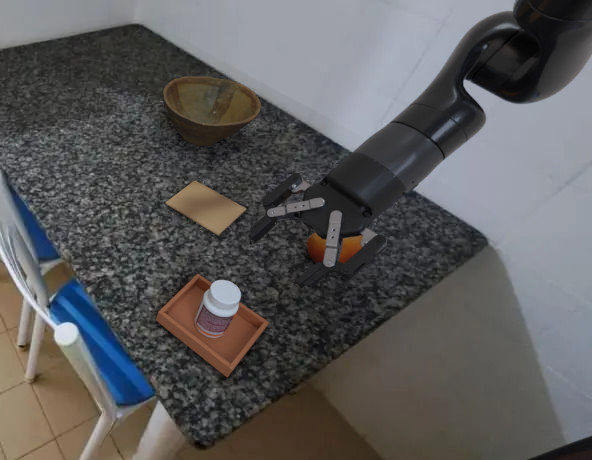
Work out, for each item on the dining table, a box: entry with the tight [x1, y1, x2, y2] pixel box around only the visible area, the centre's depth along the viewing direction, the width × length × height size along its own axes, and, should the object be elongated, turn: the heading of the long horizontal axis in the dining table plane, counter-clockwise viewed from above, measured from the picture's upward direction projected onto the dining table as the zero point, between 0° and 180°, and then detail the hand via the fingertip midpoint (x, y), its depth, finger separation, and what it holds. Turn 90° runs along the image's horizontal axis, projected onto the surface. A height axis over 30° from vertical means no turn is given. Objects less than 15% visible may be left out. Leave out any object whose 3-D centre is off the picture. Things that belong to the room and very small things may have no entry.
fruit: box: [306, 231, 363, 264], centre depth 65 cm, size 8×8×8 cm
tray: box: [155, 273, 270, 378], centre depth 57 cm, size 12×10×2 cm
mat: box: [165, 180, 247, 237], centre depth 76 cm, size 12×10×1 cm
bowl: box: [162, 75, 262, 147], centre depth 90 cm, size 22×23×10 cm
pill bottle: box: [194, 279, 242, 338], centre depth 55 cm, size 5×5×8 cm
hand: (273, 261), depth 52 cm, fingers open, 8 cm apart
